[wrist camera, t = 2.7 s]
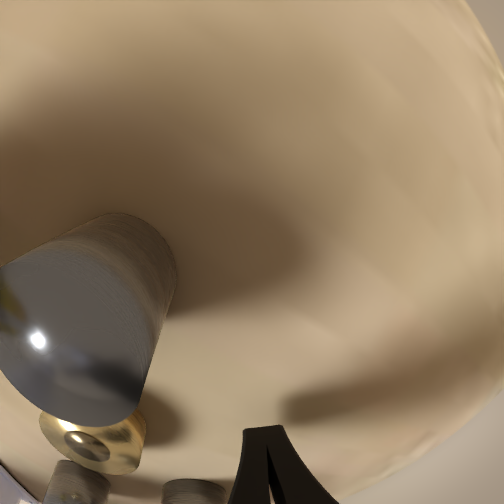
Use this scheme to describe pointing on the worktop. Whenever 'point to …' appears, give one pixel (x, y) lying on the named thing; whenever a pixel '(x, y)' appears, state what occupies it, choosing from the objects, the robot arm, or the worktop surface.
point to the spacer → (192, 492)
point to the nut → (98, 443)
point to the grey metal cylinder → (86, 318)
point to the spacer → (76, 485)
